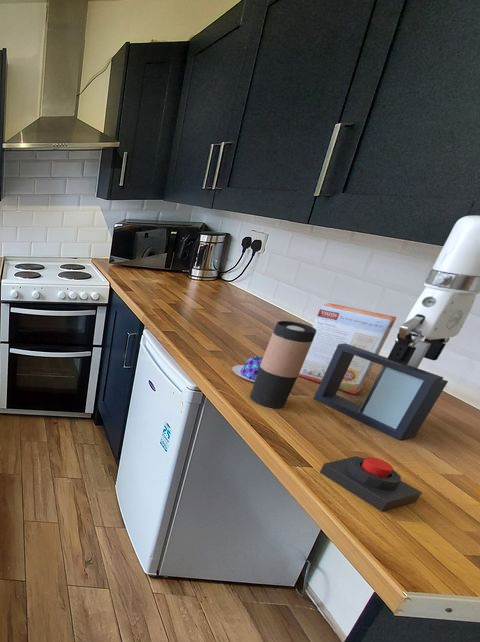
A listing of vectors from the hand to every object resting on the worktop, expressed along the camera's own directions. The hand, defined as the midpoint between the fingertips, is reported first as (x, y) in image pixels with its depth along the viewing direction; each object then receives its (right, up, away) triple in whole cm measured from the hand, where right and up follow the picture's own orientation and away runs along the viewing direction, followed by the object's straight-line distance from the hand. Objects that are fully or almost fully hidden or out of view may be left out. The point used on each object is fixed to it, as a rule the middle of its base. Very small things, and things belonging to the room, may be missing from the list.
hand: (411, 359), depth 86 cm
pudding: (-15, -6, +26) cm, 31 cm away
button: (-23, -20, -15) cm, 34 cm away
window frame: (-2, -14, +9) cm, 16 cm away
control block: (-23, -23, -13) cm, 35 cm away
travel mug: (-21, -11, +14) cm, 27 cm away
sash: (-1, -13, +6) cm, 14 cm away
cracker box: (+4, -7, +25) cm, 26 cm away
